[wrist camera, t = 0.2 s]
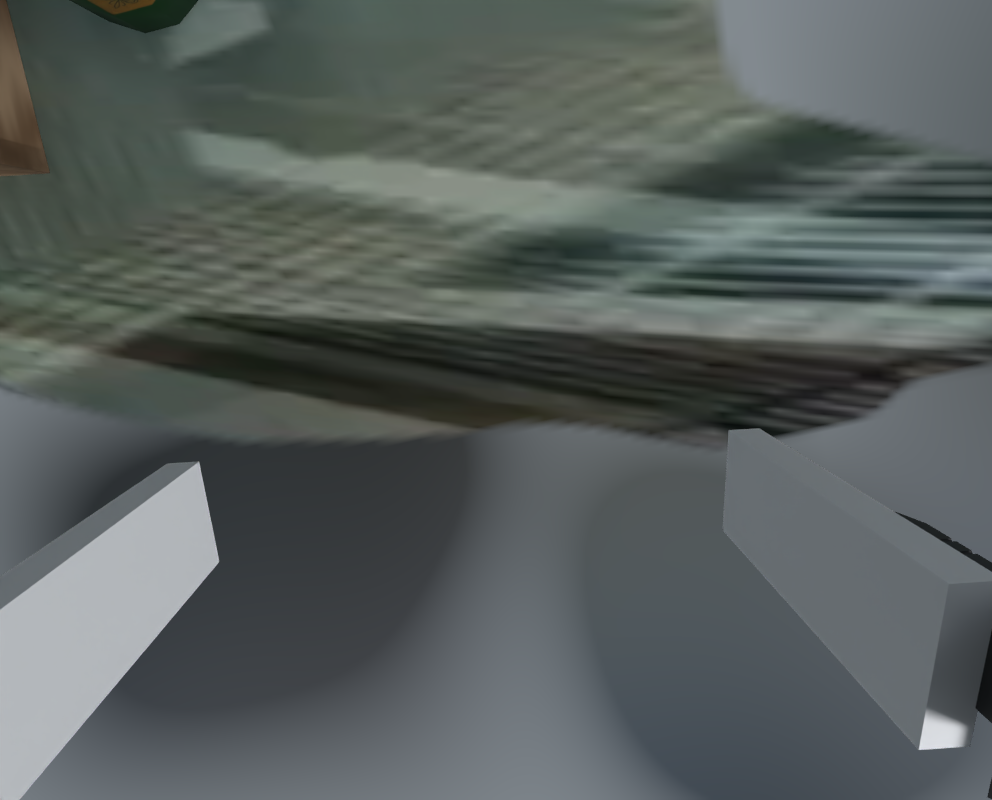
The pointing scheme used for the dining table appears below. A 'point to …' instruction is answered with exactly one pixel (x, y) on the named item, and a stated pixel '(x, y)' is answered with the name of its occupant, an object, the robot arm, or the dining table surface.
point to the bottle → (140, 12)
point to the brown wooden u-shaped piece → (16, 110)
